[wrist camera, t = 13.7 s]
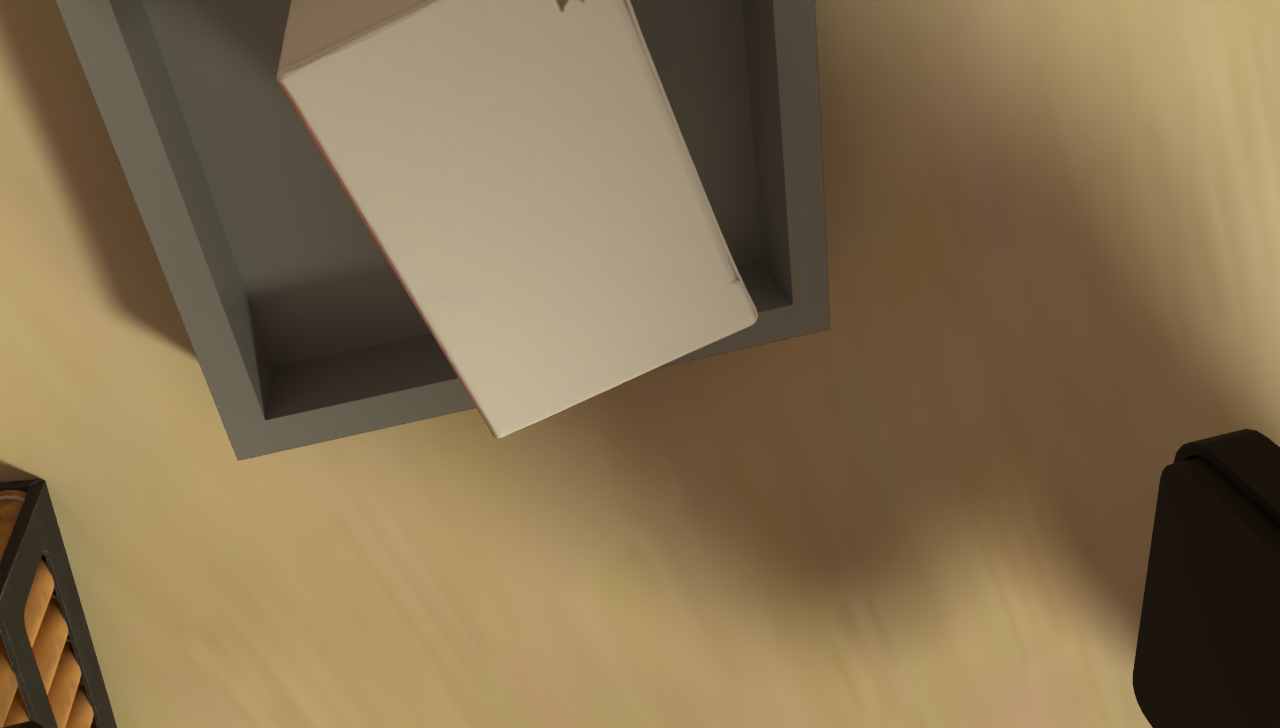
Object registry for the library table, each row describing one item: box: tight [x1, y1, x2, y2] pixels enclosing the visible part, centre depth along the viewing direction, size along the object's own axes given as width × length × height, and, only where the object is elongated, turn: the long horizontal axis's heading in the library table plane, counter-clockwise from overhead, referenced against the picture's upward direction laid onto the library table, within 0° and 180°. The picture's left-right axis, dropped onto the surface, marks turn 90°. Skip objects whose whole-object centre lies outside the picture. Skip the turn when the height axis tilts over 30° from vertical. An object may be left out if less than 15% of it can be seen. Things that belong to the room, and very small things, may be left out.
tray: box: [56, 0, 830, 461], centre depth 27 cm, size 16×17×4 cm
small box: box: [276, 0, 758, 439], centre depth 23 cm, size 8×6×10 cm
